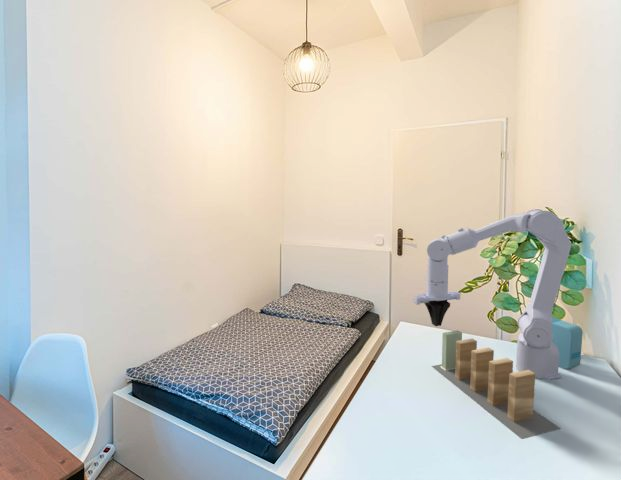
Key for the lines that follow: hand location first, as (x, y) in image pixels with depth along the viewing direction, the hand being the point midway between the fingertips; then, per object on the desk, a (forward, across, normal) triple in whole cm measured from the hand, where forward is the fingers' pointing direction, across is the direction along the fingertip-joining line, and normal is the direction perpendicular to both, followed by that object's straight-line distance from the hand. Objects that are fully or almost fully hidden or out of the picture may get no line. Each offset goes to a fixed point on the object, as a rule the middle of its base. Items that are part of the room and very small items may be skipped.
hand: (436, 324), depth 96 cm
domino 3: (+10, 0, +24) cm, 25 cm away
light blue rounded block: (+11, -31, +11) cm, 35 cm away
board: (+10, 0, +20) cm, 22 cm away
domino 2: (+10, 0, +18) cm, 20 cm away
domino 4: (+10, 0, +29) cm, 31 cm away
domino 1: (+10, 0, +12) cm, 16 cm away
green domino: (+10, 0, +7) cm, 12 cm away
